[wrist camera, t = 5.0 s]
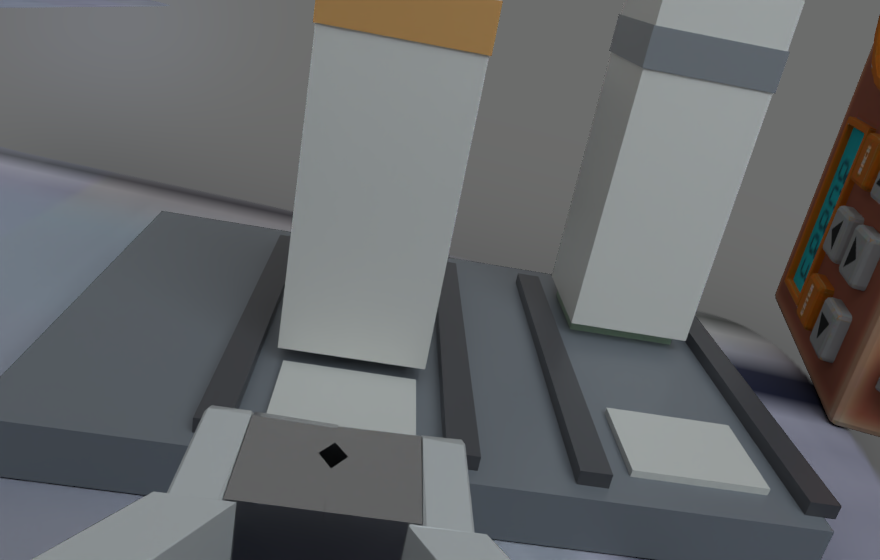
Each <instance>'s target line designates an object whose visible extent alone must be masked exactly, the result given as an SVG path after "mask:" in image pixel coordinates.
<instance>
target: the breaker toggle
mask: <svg viewBox="0 0 880 560" xmlns="http://www.w3.org/2000/svg"><path fill="white" fill-rule="evenodd" d="M502 3H503V2H502V1H501V0H315V9H314V18H313V22H315V31H314V41H313V48H312V57H311V66H310V74H309V83H308V91H307V100H306V108H305V117H304V126H303V134H302V143H301V152H300V160H299V168H298V178H297V186H296V195H295V203H294V211H293V220H292V229H291V237H290V246H289V254H288V263H287V272H286V280H285V289H284V297H283V306H282V315H281V323H280V332H279V340H278V348H283V349H290V350H297V351H304V352H310V353H317V354H324V355H331V356H337V357H344V358H351V359H358V360H365V361H371V362H378V363H385V364H392V365H398V366H405V367H412V368H419V369H425V367H426V363H427V358H428V353H429V348H430V343H431V338H432V333H433V328H434V323H435V318H436V314H437V309H438V304H439V299H440V294H441V289H442V284H443V279H444V274H445V269H446V265H447V260H448V255H449V250H450V245H451V240H452V235H453V230H454V225H455V220H456V216H457V211H458V205H459V200H460V196H461V191H462V186H463V181H464V176H465V171H466V167H467V162H468V156H469V152H470V147H471V142H472V137H473V132H474V127H475V122H476V118H477V113H478V108H479V103H480V98H481V93H482V88H483V83H484V78H485V73H486V68H487V63H488V59H489V56H492V51H493V46H494V42H495V37H496V32H497V27H498V22H499V17H500V12H501V7H502Z"/></svg>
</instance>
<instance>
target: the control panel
mask: <svg viewBox="0 0 880 560" xmlns="http://www.w3.org/2000/svg"><path fill="white" fill-rule="evenodd" d="M775 296H776V300H777V302H778V305H779V307H780V309H781V312H782V314H783V316H784V318H785V320H786V323H787V325H788V327H789V330H790V332H791V334H792V337H793V339H794V341H795V343H796V345H797V348H798V350H799V352H800V355H801V357H802V359H803V361H804V364H805V366H806V368H807V371H808V373H809V375H810V378H811V380H812V382H813V384H814V387H815V389H816V391H817V393H818V396H819V398H820V400H821V403H822V405H823V407H824V409H825V412H826V414H827V416H828V418H829V421H831V422H832V423H833V424H835V425H838V426H842V427H845V428H849V429H853V430H856V431H860V432H863V433H867V434H871V435H874V436H878V437H880V16H879V20H878V24H877V28H876V32H875V38H874V44H873V46H872V49H871V51H870V54H869V56H868V59H867V62H866V64H865V67H864V69H863V72H862V74H861V77H860V80H859V82H858V85H857V87H856V90H855V92H854V95H853V97H852V100H851V102H850V105H849V108H848V110H847V113H846V115H845V118H844V120H843V123H842V125H841V128H840V130H839V133H838V136H837V138H836V141H835V143H834V146H833V148H832V151H831V153H830V156H829V159H828V161H827V164H826V166H825V169H824V171H823V174H822V177H821V179H820V182H819V184H818V187H817V189H816V192H815V194H814V197H813V199H812V202H811V204H810V207H809V210H808V212H807V215H806V217H805V220H804V222H803V225H802V228H801V230H800V233H799V235H798V238H797V240H796V243H795V245H794V248H793V250H792V253H791V256H790V258H789V261H788V263H787V266H786V268H785V271H784V274H783V276H782V279H781V281H780V284H779V286H778V289H777V292H776V294H775Z"/></svg>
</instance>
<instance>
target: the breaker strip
mask: <svg viewBox="0 0 880 560" xmlns="http://www.w3.org/2000/svg"><path fill="white" fill-rule="evenodd" d="M804 3H805V1H803V0H625V1H624V5H623V8H622V12H621V14H619V16H618V20H617V24H616V28H615V32H614V35H613V39H612V43H611V47H610V50H609V51H611V54H610V57H609V61H608V65H607V69H606V73H605V77H604V80H603V84H602V88H601V92H600V96H599V99H598V103H597V107H596V110H595V114H594V118H593V122H592V126H591V130H590V133H589V137H588V141H587V145H586V149H585V152H584V156H583V160H582V164H581V167H580V171H579V175H578V179H577V183H576V186H575V190H574V194H573V198H572V201H571V205H570V209H569V213H568V217H567V221H566V224H565V228H564V232H563V236H562V239H561V243H560V247H559V251H558V255H557V258H556V262H555V266H554V270H553V273H552V274H546V273H540V272H534V271H528V270H522V269H516V268H509V267H504V266H497V265H491V264H485V263H479V262H473V261H467V260H460V259H454V258H448V260H447V265H446V269H445V274H444V279H443V284H442V289H441V294H440V299H439V304H438V309H437V314H436V318H435V323H434V328H433V333H432V338H431V343H430V348H429V353H428V358H427V363H426V367H425V369H419V368H412V367H405V366H398V365H392V364H385V363H378V362H371V361H365V360H358V359H351V358H344V357H337V356H331V355H324V354H317V353H310V352H304V351H297V350H290V349H283V348H278V340H279V332H280V323H281V315H282V306H283V297H284V289H285V280H286V272H287V263H288V254H289V246H290V237H291V232H288V231H282V230H276V229H270V228H264V227H258V226H251V225H245V224H239V223H233V222H227V221H221V220H215V219H208V218H202V217H196V216H190V215H184V214H178V213H172V212H165V211H162V212H161V213H160V214H159V215H158V216H157V217H156V218H155V219H154V220H153V221H152V222H151V223H150V224H149V225H148V226H147V227H146V228H145V229H144V230H143V231H142V232H141V233H140V234H139V235H138V236H137V237H136V238H135V239H134V240H133V241H132V242H131V243H130V244H129V245H128V247H127V248H126V249H125V250H124V251H123V252H122V253H121V254H120V255H119V256H118V257H117V258H116V259H115V260H114V261H113V262H112V263H111V264H110V265H109V266H108V267H107V268H106V269H105V270H104V271H103V272H102V273H101V274H100V275H99V276H98V277H97V278H96V279H95V280H94V281H93V282H92V283H91V284H90V285H89V287H88V288H87V289H86V290H85V291H84V292H83V293H82V294H81V295H80V296H79V297H78V298H77V299H76V300H75V301H74V302H73V303H72V304H71V305H70V306H69V307H68V308H67V309H66V310H65V311H64V312H63V313H62V314H61V315H60V316H59V317H58V318H57V319H56V320H55V321H54V322H53V323H52V324H51V325H50V327H49V328H48V329H47V330H46V331H45V332H44V333H43V334H42V335H41V336H40V337H39V338H38V339H37V340H36V341H35V342H34V343H33V344H32V345H31V346H30V347H29V348H28V349H27V350H26V351H25V352H24V353H23V354H22V355H21V356H20V357H19V358H18V359H17V360H16V361H15V362H14V363H13V364H12V366H11V367H10V368H9V369H8V370H7V371H6V372H5V373H4V374H3V375H2V376H1V377H0V477H6V478H14V479H22V480H30V481H37V482H45V483H53V484H61V485H69V486H77V487H85V488H93V489H101V490H109V491H117V492H125V493H133V494H140V495H148V494H150V493H151V492H162V493H167V491H168V489H169V487H170V485H171V483H172V480H173V478H174V476H175V474H176V472H177V470H178V467H179V465H180V463H181V461H182V459H183V457H184V454H185V452H186V450H187V448H188V446H189V444H190V442H191V439H192V437H193V435H194V433H195V431H196V429H197V426H198V424H199V422H200V420H201V418H202V416H203V413H204V411H205V410H206V409H207V408H209V407H210V406H211V405H214V406H221V407H229V408H236V409H243V410H251V411H252V412H253V413H254V412H255V411H256V412H262V413H268V414H275V415H281V416H287V417H293V418H299V419H306V420H312V421H318V422H324V423H330V424H337V425H338V426H343V427H351V428H359V429H367V430H375V431H384V432H392V433H400V434H408V435H416V436H421V435H423V436H432V437H442V438H451V439H461V440H462V441H463V442H464V443H465V447H466V457H467V466H468V475H469V485H470V494H471V504H472V513H473V522H474V532H475V533H481V534H487V535H488V536H489V537H490V538H491V539H497V540H505V541H513V542H521V543H529V544H537V545H545V546H552V547H560V548H568V549H576V550H584V551H592V552H600V553H608V554H616V555H624V556H632V557H640V558H647V559H655V560H821V558H822V556H823V554H824V552H825V550H826V548H827V546H828V543H829V541H830V539H831V537H832V535H833V533H834V531H833V530H832V528H831V527H830V525H829V524H828V523H827V521H826V520H825V519H824V518H830V519H836V517H837V515H838V513H839V511H840V509H841V505H840V504H839V502H838V501H837V500H836V499H835V497H834V496H833V495H832V493H831V492H830V491H829V489H828V488H827V487H826V485H825V484H824V483H823V482H822V480H821V479H820V478H819V476H818V475H817V474H816V472H815V471H814V470H813V469H812V467H811V466H810V465H809V463H808V462H807V461H806V459H805V458H804V457H803V455H802V454H801V453H800V452H799V450H798V449H797V448H796V446H795V445H794V444H793V442H792V441H791V440H790V439H789V437H788V436H787V435H786V433H785V432H784V431H783V429H782V428H781V427H780V425H779V424H778V423H777V422H776V420H775V419H774V418H773V416H772V415H771V414H770V412H769V411H768V410H767V409H766V407H765V406H764V405H763V403H762V402H761V401H760V399H759V398H758V397H757V395H756V394H755V393H754V392H753V390H752V389H751V388H750V386H749V385H748V384H747V382H746V381H745V380H744V379H743V377H742V376H741V375H740V373H739V372H738V371H737V369H736V368H735V367H734V365H733V364H732V363H731V362H730V360H729V359H728V358H727V356H726V355H725V354H724V352H723V351H722V350H721V349H720V347H719V346H718V345H717V343H716V342H715V341H714V339H713V338H712V337H711V335H710V334H709V333H708V332H707V330H706V329H705V328H704V326H703V325H702V324H701V322H700V321H699V320H698V319H697V317H696V316H695V313H696V310H697V307H698V305H699V302H700V299H701V296H702V293H703V290H704V287H705V285H706V282H707V279H708V276H709V273H710V270H711V268H712V265H713V262H714V259H715V256H716V253H717V250H718V247H719V244H720V242H721V239H722V236H723V233H724V230H725V228H726V225H727V222H728V219H729V216H730V213H731V210H732V208H733V205H734V202H735V199H736V196H737V193H738V190H739V188H740V185H741V182H742V179H743V176H744V173H745V171H746V168H747V165H748V162H749V159H750V156H751V154H752V150H753V148H754V145H755V142H756V139H757V136H758V134H759V131H760V128H761V125H762V122H763V119H764V116H765V113H766V111H767V108H768V105H769V102H770V99H771V97H772V94H773V93H775V92H776V90H777V87H778V84H779V81H780V78H781V75H782V72H783V70H784V67H785V64H786V61H787V58H788V55H789V52H788V48H789V45H790V42H791V40H792V37H793V34H794V31H795V28H796V25H797V22H798V19H799V17H800V14H801V11H802V8H803V5H804Z"/></svg>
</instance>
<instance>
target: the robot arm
mask: <svg viewBox="0 0 880 560" xmlns="http://www.w3.org/2000/svg"><path fill="white" fill-rule="evenodd" d="M32 560H511V559H510V558H509V557H508V556H507V555H506V554H505V553H504V552H503V551H502V550H501V549H500V548H499V547H498V545H497V544H496V543H495V542H494V541H493V540H492V539H491V538H490V537H489V536H488V535H487V534H481V533H475V532H474V522H473V513H472V504H471V494H470V485H469V475H468V466H467V457H466V447H465V443H464V442H463V441H462V440H461V439H451V438H442V437H432V436H423V435H421V436H416V435H408V434H400V433H392V432H384V431H375V430H367V429H359V428H351V427H343V426H338V425H337V424H330V423H324V422H318V421H312V420H306V419H299V418H293V417H287V416H281V415H275V414H268V413H262V412H256V411H255V412H254V413H253V412H252V411H251V410H243V409H236V408H229V407H221V406H214V405H211V406H210V407H209V408H207V409H206V410H205V411H204V413H203V416H202V418H201V420H200V422H199V424H198V426H197V429H196V431H195V433H194V435H193V437H192V439H191V442H190V444H189V446H188V448H187V450H186V452H185V454H184V457H183V459H182V461H181V463H180V465H179V467H178V470H177V472H176V474H175V476H174V478H173V480H172V483H171V485H170V487H169V489H168V491H167V493H162V492H151V493H150V494H148V495H146V496H144V497H142V498H141V499H139V500H137V501H135V502H133V503H132V504H130V505H128V506H126V507H125V508H123V509H121V510H119V511H117V512H116V513H114V514H112V515H110V516H108V517H107V518H105V519H103V520H101V521H99V522H98V523H96V524H94V525H92V526H91V527H89V528H87V529H85V530H83V531H82V532H80V533H78V534H76V535H74V536H73V537H71V538H69V539H67V540H66V541H64V542H62V543H60V544H58V545H57V546H55V547H53V548H51V549H49V550H48V551H46V552H44V553H42V554H40V555H39V556H37V557H35V558H33V559H32Z"/></svg>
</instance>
